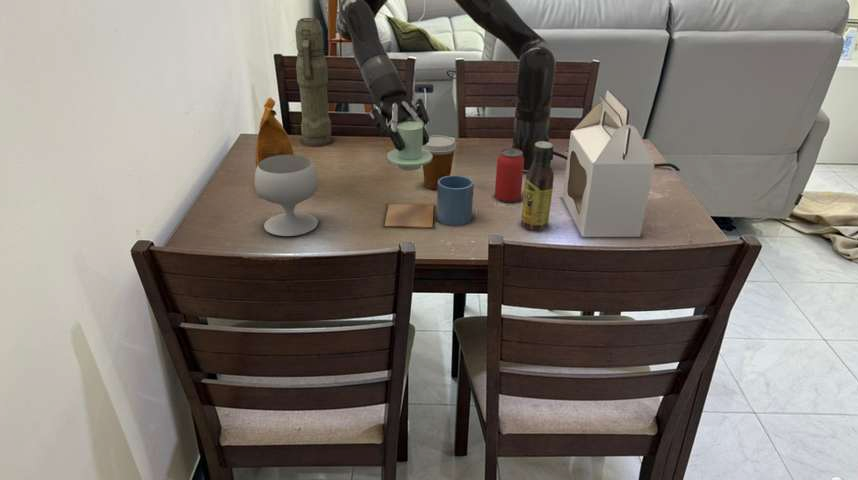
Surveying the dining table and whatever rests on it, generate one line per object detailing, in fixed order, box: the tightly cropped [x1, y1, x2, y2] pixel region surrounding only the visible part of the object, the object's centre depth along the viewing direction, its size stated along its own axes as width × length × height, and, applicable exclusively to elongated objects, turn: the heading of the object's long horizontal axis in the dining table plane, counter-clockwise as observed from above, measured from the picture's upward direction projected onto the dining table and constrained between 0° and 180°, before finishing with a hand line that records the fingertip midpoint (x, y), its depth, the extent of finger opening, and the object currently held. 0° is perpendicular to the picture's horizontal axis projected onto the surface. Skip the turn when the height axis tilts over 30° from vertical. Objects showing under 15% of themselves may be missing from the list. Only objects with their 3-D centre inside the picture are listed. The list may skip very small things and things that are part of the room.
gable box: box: [562, 90, 656, 238], centre depth 153 cm, size 22×13×28 cm, turn 1°
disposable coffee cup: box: [422, 134, 457, 190], centre depth 173 cm, size 10×10×12 cm
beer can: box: [494, 147, 524, 203], centre depth 166 cm, size 7×7×12 cm
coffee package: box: [254, 97, 295, 169], centre depth 168 cm, size 10×12×22 cm
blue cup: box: [436, 174, 474, 226], centre depth 157 cm, size 8×8×9 cm
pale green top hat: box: [386, 121, 433, 172], centre depth 151 cm, size 10×10×10 cm
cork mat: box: [384, 203, 435, 229], centre depth 159 cm, size 11×12×1 cm
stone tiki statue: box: [294, 17, 332, 147], centre depth 195 cm, size 9×12×35 cm
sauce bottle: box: [520, 141, 555, 231], centre depth 150 cm, size 7×6×20 cm
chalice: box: [253, 154, 319, 237], centre depth 151 cm, size 14×14×15 cm
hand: (414, 146), depth 149 cm, fingers closed on pale green top hat, 6 cm apart
